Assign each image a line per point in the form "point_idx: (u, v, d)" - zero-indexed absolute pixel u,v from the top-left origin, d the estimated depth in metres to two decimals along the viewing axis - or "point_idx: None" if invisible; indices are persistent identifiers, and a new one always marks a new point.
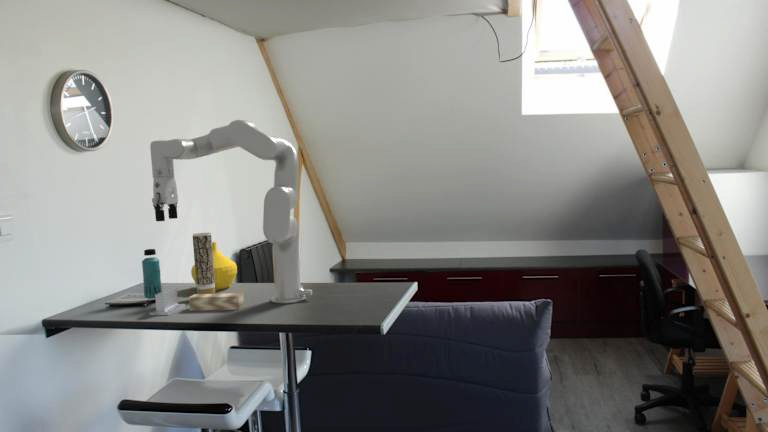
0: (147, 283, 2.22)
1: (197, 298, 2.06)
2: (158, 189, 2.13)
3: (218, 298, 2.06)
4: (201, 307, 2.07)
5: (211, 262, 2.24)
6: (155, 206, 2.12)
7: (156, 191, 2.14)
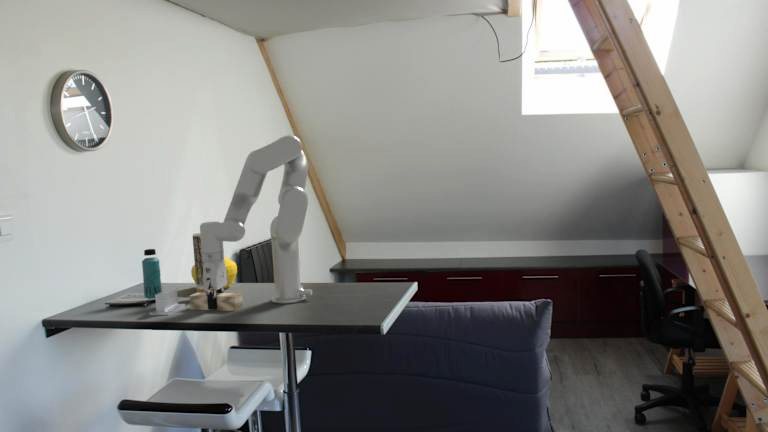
0: (147, 283, 2.22)
1: (197, 297, 2.07)
2: (208, 274, 2.02)
3: (216, 297, 2.05)
4: (201, 306, 2.07)
5: None
6: (208, 295, 2.03)
7: (207, 276, 2.03)
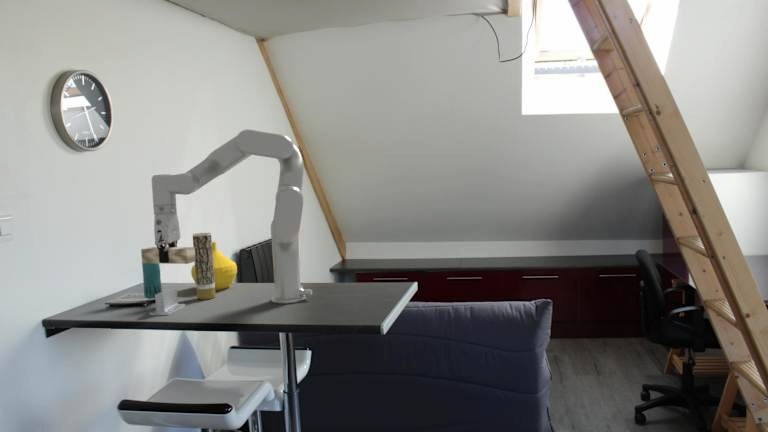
0: (147, 283, 2.22)
1: (149, 250, 2.05)
2: (159, 227, 2.00)
3: (168, 250, 2.03)
4: (152, 260, 2.05)
5: (211, 262, 2.24)
6: (159, 247, 2.01)
7: (158, 228, 2.00)
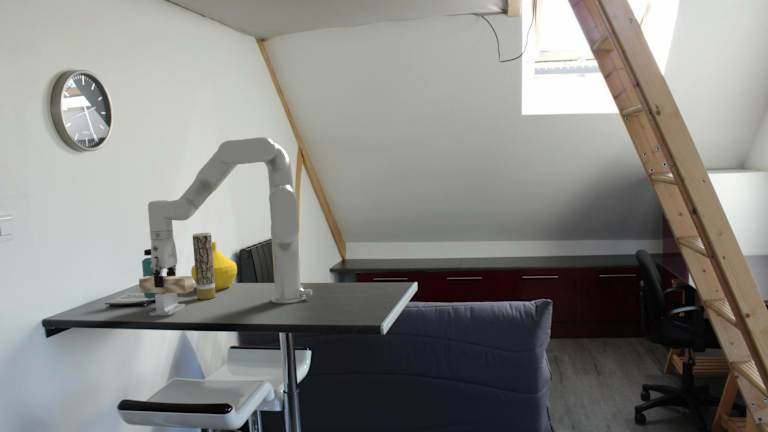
0: None
1: (146, 280, 2.06)
2: (156, 253, 2.01)
3: (166, 280, 2.04)
4: (150, 289, 2.06)
5: (211, 262, 2.24)
6: (153, 272, 2.00)
7: (154, 255, 2.01)
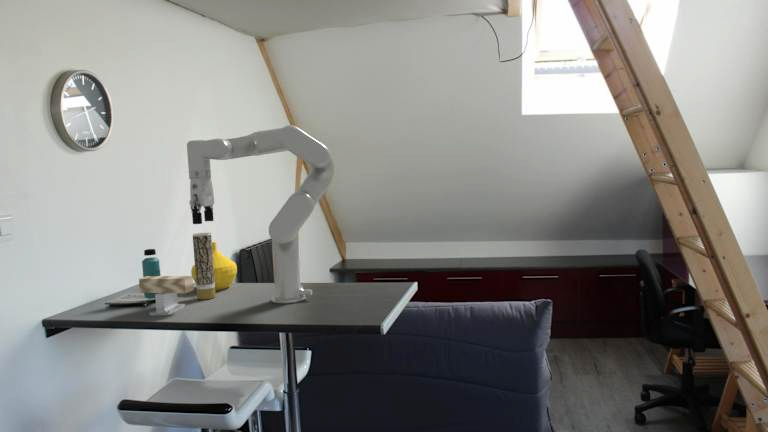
0: None
1: (146, 280, 2.06)
2: (195, 191, 2.05)
3: (166, 280, 2.04)
4: (150, 289, 2.06)
5: (211, 262, 2.24)
6: (192, 208, 2.04)
7: (193, 192, 2.06)
